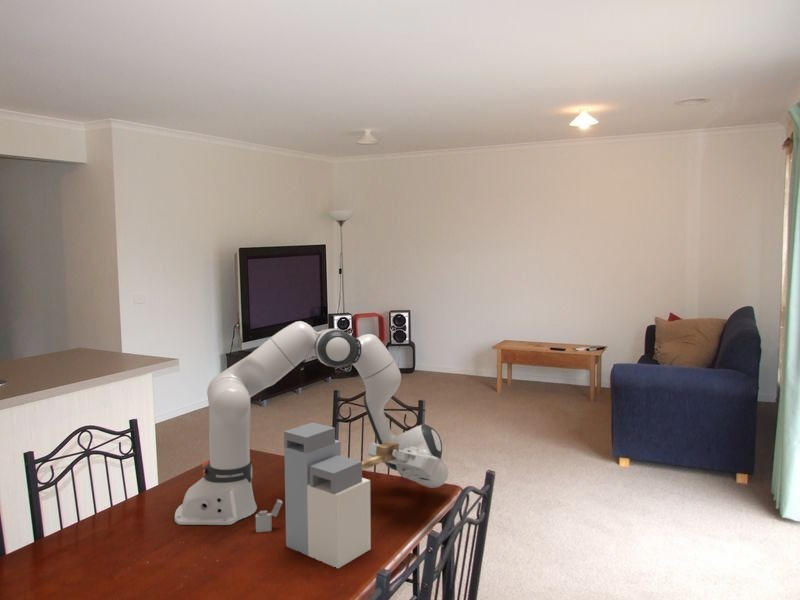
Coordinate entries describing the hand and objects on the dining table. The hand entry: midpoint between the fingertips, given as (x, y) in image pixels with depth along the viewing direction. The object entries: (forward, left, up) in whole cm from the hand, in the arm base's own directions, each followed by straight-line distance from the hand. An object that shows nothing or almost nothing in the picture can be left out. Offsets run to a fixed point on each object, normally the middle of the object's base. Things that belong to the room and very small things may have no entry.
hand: (385, 450), depth 172 cm
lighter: (-31, +4, -21) cm, 38 cm away
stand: (-16, -9, -21) cm, 28 cm away
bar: (-3, -3, -2) cm, 5 cm away
